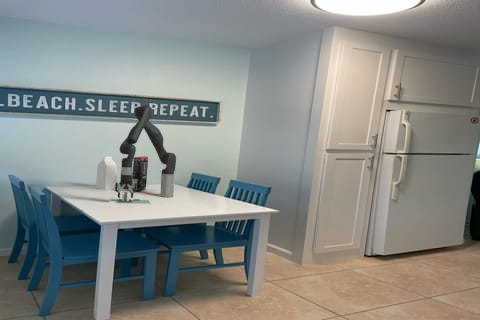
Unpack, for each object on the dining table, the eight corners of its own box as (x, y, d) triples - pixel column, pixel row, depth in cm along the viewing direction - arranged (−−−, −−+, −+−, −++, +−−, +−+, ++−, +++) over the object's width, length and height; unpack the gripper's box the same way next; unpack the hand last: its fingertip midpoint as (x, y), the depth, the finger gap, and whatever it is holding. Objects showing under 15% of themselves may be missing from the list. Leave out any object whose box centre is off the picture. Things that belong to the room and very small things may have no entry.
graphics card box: (138, 188, 374) (140, 155, 372) (146, 189, 373) (148, 156, 371) (131, 191, 357) (132, 156, 355) (139, 192, 356) (141, 157, 354)
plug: (128, 201, 306) (128, 191, 306) (128, 202, 303) (129, 192, 302) (121, 200, 305) (122, 191, 304) (122, 201, 301) (122, 192, 301)
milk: (105, 190, 355) (106, 157, 353) (95, 188, 361) (97, 155, 359) (117, 189, 365) (118, 156, 363) (107, 187, 371) (108, 155, 369)
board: (147, 201, 316) (148, 198, 316) (150, 204, 302) (150, 202, 302) (115, 201, 308) (115, 198, 308) (116, 204, 295) (116, 201, 295)
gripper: (136, 173, 309) (135, 197, 310) (115, 172, 304) (113, 197, 305) (138, 174, 302) (136, 199, 303) (115, 174, 297) (114, 198, 298)
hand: (125, 198), depth 304 cm, fingers open, 7 cm apart
